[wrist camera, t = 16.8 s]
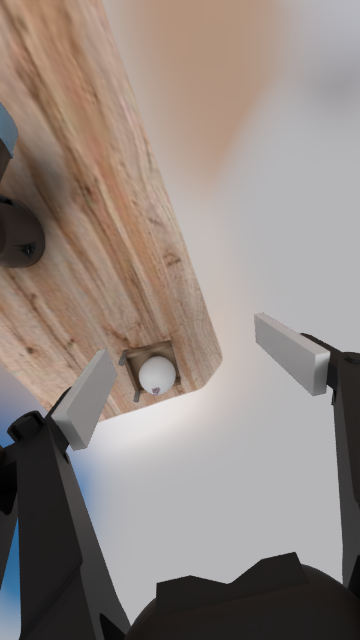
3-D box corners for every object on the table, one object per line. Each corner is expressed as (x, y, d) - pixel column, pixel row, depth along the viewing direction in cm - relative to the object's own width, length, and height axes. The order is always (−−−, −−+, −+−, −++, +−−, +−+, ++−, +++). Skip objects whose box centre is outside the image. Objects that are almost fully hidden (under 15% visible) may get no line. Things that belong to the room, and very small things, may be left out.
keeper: (137, 388, 59) (134, 402, 53) (122, 350, 54) (117, 361, 48) (180, 378, 59) (181, 391, 53) (169, 339, 54) (170, 349, 48)
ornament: (156, 383, 58) (154, 413, 47) (135, 363, 55) (127, 390, 44) (180, 366, 57) (184, 393, 45) (160, 344, 53) (158, 367, 42)
